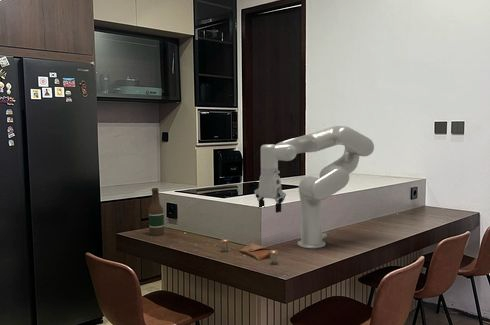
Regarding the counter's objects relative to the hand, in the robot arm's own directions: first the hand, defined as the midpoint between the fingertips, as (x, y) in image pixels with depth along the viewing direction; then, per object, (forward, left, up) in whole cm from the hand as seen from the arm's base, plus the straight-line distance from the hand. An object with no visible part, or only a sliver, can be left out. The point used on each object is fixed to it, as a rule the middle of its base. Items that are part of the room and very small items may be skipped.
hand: (269, 210), depth 213 cm
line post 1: (+15, -14, -18) cm, 27 cm away
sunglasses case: (+10, 0, -18) cm, 21 cm away
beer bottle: (+15, -64, -18) cm, 68 cm away
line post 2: (+15, +14, -18) cm, 27 cm away
